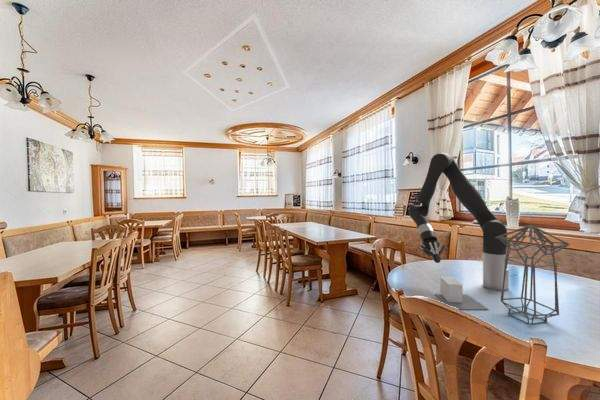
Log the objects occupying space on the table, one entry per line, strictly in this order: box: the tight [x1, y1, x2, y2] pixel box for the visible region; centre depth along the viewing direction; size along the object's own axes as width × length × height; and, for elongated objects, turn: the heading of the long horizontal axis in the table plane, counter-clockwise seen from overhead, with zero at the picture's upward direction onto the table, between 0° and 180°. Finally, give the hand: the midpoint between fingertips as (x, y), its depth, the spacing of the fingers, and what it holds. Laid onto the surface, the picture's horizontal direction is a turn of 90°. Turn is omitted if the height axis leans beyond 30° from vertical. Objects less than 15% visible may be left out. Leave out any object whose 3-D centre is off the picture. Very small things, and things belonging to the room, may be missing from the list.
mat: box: [434, 293, 489, 311], centre depth 108 cm, size 14×15×1 cm
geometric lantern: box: [496, 225, 570, 325], centre depth 92 cm, size 16×16×35 cm
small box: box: [439, 276, 463, 303], centre depth 112 cm, size 8×6×10 cm
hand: (438, 262), depth 125 cm, fingers closed
